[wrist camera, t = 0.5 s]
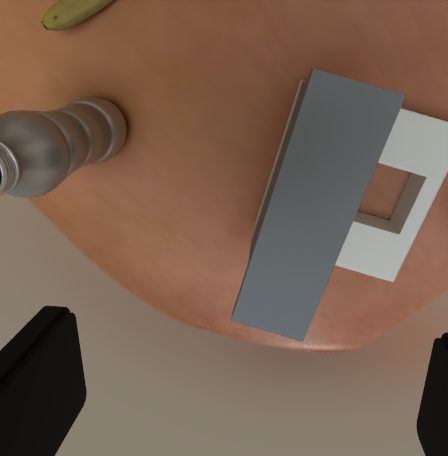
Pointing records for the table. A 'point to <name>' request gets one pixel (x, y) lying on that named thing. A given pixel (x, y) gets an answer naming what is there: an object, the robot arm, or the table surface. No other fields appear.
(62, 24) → the banana
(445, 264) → the table surface
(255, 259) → the socket block
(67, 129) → the plastic bottle
